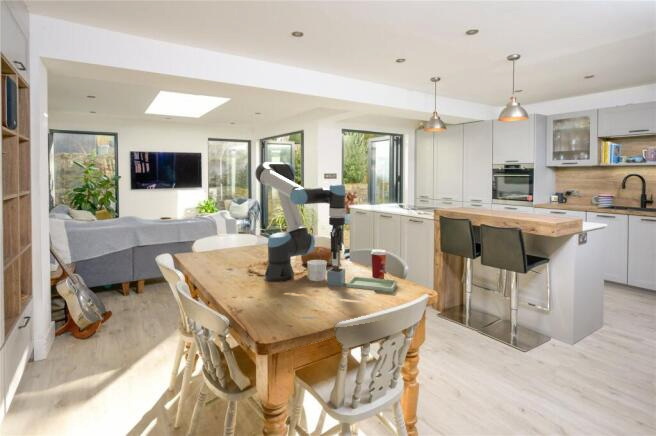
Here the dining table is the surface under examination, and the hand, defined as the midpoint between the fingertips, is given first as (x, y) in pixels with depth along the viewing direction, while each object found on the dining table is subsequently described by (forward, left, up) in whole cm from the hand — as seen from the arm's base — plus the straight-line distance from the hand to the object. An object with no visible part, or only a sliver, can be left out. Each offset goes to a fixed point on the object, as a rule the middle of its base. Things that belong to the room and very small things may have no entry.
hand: (336, 264), depth 192 cm
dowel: (0, 0, -9) cm, 9 cm away
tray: (+17, +4, -11) cm, 21 cm away
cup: (-12, +5, -11) cm, 17 cm away
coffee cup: (+17, +20, -11) cm, 28 cm away
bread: (-23, +42, -11) cm, 49 cm away
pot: (0, 0, -11) cm, 11 cm away
